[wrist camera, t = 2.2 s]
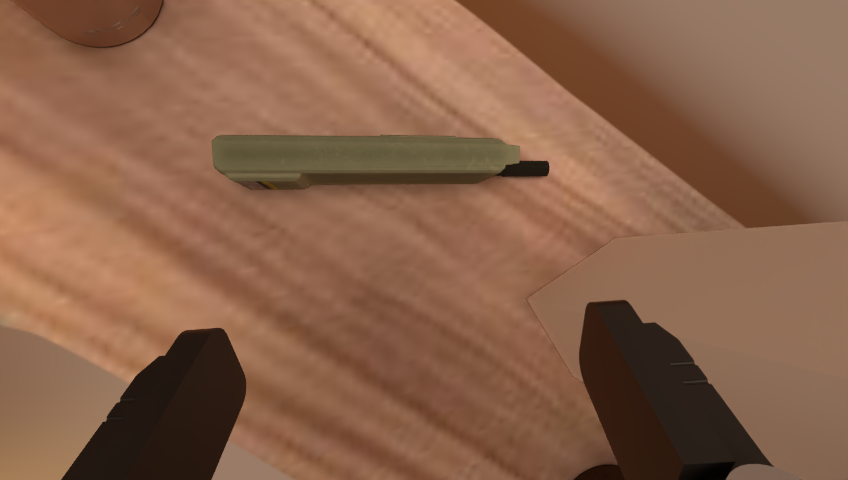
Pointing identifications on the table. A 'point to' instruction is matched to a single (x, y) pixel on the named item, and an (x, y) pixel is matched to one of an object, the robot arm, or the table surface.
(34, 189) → the table surface
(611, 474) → the olive oil
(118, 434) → the robot arm
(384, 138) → the handheld radio
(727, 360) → the stand
